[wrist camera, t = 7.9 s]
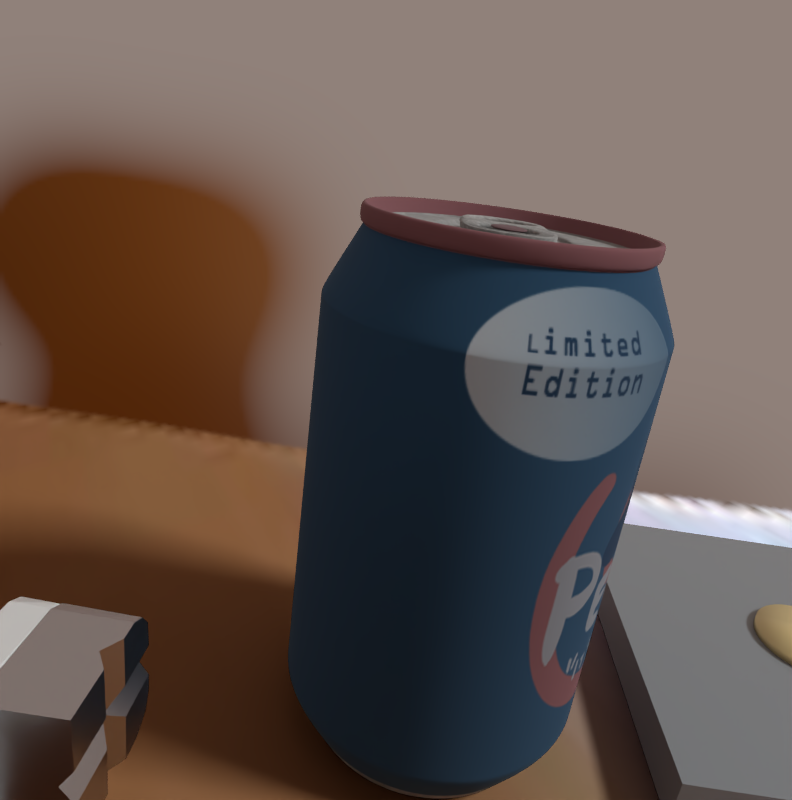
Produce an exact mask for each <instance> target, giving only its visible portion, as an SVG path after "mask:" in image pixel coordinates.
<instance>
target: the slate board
mask: <svg viewBox="0 0 792 800" xmlns="http://www.w3.org/2000/svg"><path fill="white" fill-rule="evenodd" d="M598 615H599V618H600V621H601V624H602V627H603V630H604V633H605V636H606V639H607V642H608V645H609V648H610V651H611V654H612V657H613V660H614V663H615V666H616V669H617V672H618V676H619V679H620V682H621V685H622V688H623V691H624V694H625V697H626V700H627V703H628V706H629V709H630V712H631V715H632V718H633V721H634V724H635V727H636V730H637V733H638V736H639V739H640V742H641V745H642V748H643V751H644V754H645V757H646V760H647V763H648V766H649V769H650V772H651V776H652V779H653V782H654V785H655V788H656V791H657V794H658V797H659V800H792V548H788V547H781V546H774V545H767V544H761V543H754V542H747V541H740V540H733V539H726V538H720V537H713V536H706V535H699V534H692V533H685V532H678V531H672V530H665V529H658V528H651V527H644V526H637V525H631V524H623V527H622V531H621V534H620V538H619V541H618V544H617V548H616V551H615V555H614V558H613V562H612V565H611V569H610V572H609V576H608V579H607V583H606V586H605V590H604V593H603V597H602V600H601V604H600V607H599V611H598Z"/></svg>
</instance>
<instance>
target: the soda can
mask: <svg viewBox="0 0 792 800" xmlns="http://www.w3.org/2000/svg"><path fill="white" fill-rule="evenodd" d="M360 215H361V220H362V221H363V224H362V225H361V227H360V228H359V230H358V231H357V233H356V235H355V236H354V238H353V239H352V241H351V242H350V244H349V245H348V247H347V248H346V250H345V252H344V253H343V255H342V257H341V258H340V260H339V261H338V263H337V264H336V266H335V267H334V269H333V271H332V272H331V274H330V275H329V277H328V279H327V281H326V282H325V284H324V286H323V289H322V294H321V305H320V316H319V327H318V337H317V349H316V359H315V370H314V381H313V391H312V403H311V413H310V424H309V435H308V445H307V456H306V467H305V477H304V488H303V499H302V510H301V520H300V531H299V542H298V553H297V564H296V574H295V585H294V596H293V607H292V617H291V628H290V639H289V650H288V664H289V673H290V677H291V681H292V685H293V688H294V691H295V693H296V696H297V698H298V700H299V702H300V704H301V706H302V708H303V710H304V712H305V713H306V715H307V716H308V718H309V719H310V721H311V722H312V724H313V725H314V727H315V728H316V730H317V731H318V732H319V733H320V735H321V736H322V737H323V739H324V740H325V741H326V742H327V744H328V745H329V746H330V747H331V749H332V750H333V751H334V752H335V753H336V754H337V756H338V757H339V758H340V759H341V760H342V761H343V762H344V763H346V764H347V765H348V766H349V767H350V768H351V769H353V770H354V771H355V772H357V773H358V774H360V775H361V776H363V777H364V778H366V779H368V780H369V781H371V782H373V783H375V784H377V785H379V786H381V787H384V788H386V789H389V790H392V791H395V792H398V793H401V794H405V795H409V796H415V797H421V798H431V799H447V798H457V797H462V796H467V795H471V794H475V793H478V792H480V791H483V790H485V789H487V788H490V787H492V786H494V785H496V784H498V783H500V782H502V781H504V780H506V779H508V778H510V777H512V776H514V775H516V774H518V773H519V772H521V771H523V770H524V769H526V768H528V767H529V766H530V765H532V764H533V763H534V762H536V761H537V760H538V759H539V758H541V757H542V756H543V755H544V754H545V753H546V752H547V751H548V750H549V749H550V747H551V746H552V745H553V744H554V743H555V741H556V740H557V739H558V737H559V736H560V734H561V732H562V730H563V728H564V726H565V724H566V721H567V719H568V715H569V712H570V708H571V705H572V701H573V698H574V694H575V691H576V687H577V684H578V680H579V677H580V673H581V670H582V666H583V663H584V660H585V656H586V653H587V649H588V646H589V642H590V639H591V635H592V632H593V628H594V625H595V621H596V618H597V614H598V611H599V607H600V604H601V600H602V597H603V593H604V590H605V586H606V583H607V579H608V576H609V572H610V569H611V565H612V562H613V558H614V555H615V551H616V548H617V544H618V541H619V538H620V534H621V531H622V527H623V524H624V520H625V517H626V513H627V510H628V506H629V503H630V499H631V496H632V492H633V489H634V485H635V482H636V478H637V475H638V471H639V468H640V464H641V461H642V457H643V454H644V450H645V447H646V443H647V440H648V436H649V433H650V429H651V426H652V422H653V419H654V416H655V412H656V408H657V405H658V402H659V398H660V395H661V391H662V388H663V384H664V380H665V377H666V374H667V370H668V367H669V363H670V360H671V356H672V353H673V349H674V338H673V333H672V329H671V324H670V319H669V315H668V310H667V307H666V302H665V298H664V293H663V289H662V285H661V280H660V276H659V272H658V268H657V266H658V265H659V264H660V263H661V262H662V260H663V257H664V254H665V250H666V246H665V244H664V243H662V242H660V241H658V240H655V239H653V238H650V237H647V236H644V235H641V234H637V233H633V232H630V231H626V230H622V229H618V228H614V227H609V226H605V225H600V224H596V223H591V222H586V221H581V220H576V219H571V218H565V217H560V216H554V215H548V214H543V213H537V212H530V211H524V210H518V209H511V208H504V207H497V206H490V205H482V204H473V203H466V202H457V201H447V200H437V199H426V198H411V197H372V198H368V199H365V200H364V201H363V202H362V205H361V212H360Z"/></svg>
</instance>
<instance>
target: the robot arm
mask: <svg viewBox="0 0 792 800" xmlns="http://www.w3.org/2000/svg"><path fill="white" fill-rule="evenodd" d="M148 645H149V639H148V622H147V621H146V620H144V619H143V618H142V617H137V616H132V615H126V614H120V613H115V612H109V611H104V610H98V609H93V608H87V607H81V606H76V605H70V604H65V603H62V604H58V603H54V602H48V601H43V600H37V599H32V598H27V597H19V598H16V599H14V600H12V601H9V602H8V603H7V604H6V605H5V606H4V607H3V608H2V609H1V610H0V800H105V798H106V796H107V794H108V770H110V769H111V768H113V767H114V766H116V765H117V764H119V763H120V762H122V761H123V760H125V759H126V758H127V756H128V754H129V752H130V750H131V748H132V746H133V744H134V742H135V740H136V738H137V735H138V732H139V729H140V726H141V723H142V720H143V717H144V713H145V710H146V704H147V697H148V691H149V674H148V673H147V671H146V670H145V669H144V668H143V666H142V665H141V664H140V662H139V661H140V659H141V657H142V656H143V654H144V652H145V651H146V649H147V647H148Z"/></svg>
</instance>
